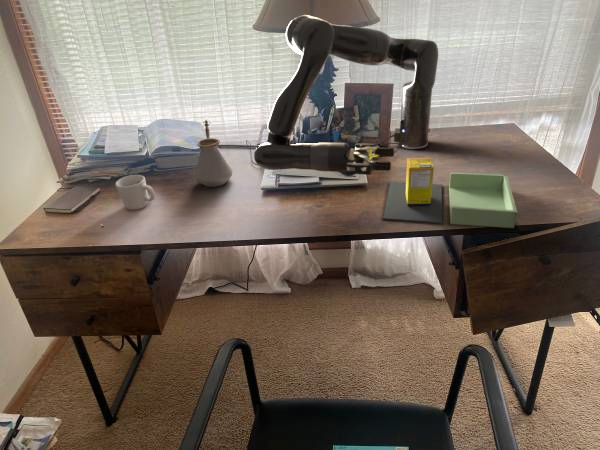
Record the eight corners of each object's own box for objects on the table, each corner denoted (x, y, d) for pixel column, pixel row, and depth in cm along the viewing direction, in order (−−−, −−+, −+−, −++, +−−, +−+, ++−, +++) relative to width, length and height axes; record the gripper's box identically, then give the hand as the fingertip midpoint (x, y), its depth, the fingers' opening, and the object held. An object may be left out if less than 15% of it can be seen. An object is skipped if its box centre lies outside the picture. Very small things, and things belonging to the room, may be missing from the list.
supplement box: (427, 195, 117) (431, 157, 111) (430, 206, 112) (434, 167, 106) (404, 195, 118) (407, 157, 112) (406, 206, 113) (409, 167, 107)
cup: (165, 201, 127) (158, 176, 122) (149, 215, 120) (141, 189, 116) (134, 197, 130) (127, 173, 126) (117, 211, 124) (108, 185, 119)
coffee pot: (235, 186, 131) (227, 139, 123) (196, 192, 130) (186, 144, 122) (231, 159, 149) (224, 116, 141) (197, 164, 148) (188, 121, 140)
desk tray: (450, 223, 105) (452, 207, 103) (449, 186, 121) (450, 172, 119) (513, 228, 101) (517, 211, 99) (503, 189, 117) (506, 174, 115)
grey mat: (383, 219, 109) (383, 218, 109) (390, 183, 125) (390, 182, 125) (441, 223, 105) (441, 222, 105) (441, 186, 122) (441, 184, 121)
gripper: (322, 154, 107) (390, 156, 103) (334, 133, 119) (395, 134, 114) (324, 182, 111) (389, 185, 107) (335, 159, 123) (394, 161, 118)
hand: (392, 158), depth 111 cm, fingers open, 8 cm apart
